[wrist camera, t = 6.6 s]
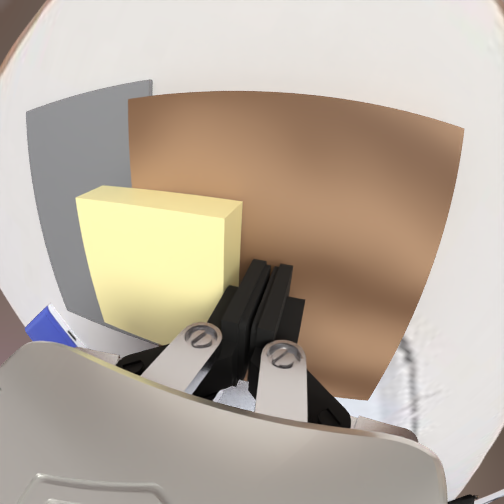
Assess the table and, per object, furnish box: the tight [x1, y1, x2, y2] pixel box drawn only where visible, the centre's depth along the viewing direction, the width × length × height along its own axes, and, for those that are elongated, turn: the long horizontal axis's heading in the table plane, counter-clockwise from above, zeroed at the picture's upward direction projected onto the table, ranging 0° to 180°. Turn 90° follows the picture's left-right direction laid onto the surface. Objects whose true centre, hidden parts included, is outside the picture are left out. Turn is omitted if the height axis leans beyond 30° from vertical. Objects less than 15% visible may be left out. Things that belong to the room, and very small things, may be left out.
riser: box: [128, 91, 464, 400], centre depth 14 cm, size 16×14×2 cm
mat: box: [26, 80, 159, 345], centre depth 17 cm, size 18×12×1 cm, turn 179°
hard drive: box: [25, 303, 87, 348], centre depth 27 cm, size 2×8×12 cm
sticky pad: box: [76, 185, 243, 345], centre depth 13 cm, size 8×8×2 cm
